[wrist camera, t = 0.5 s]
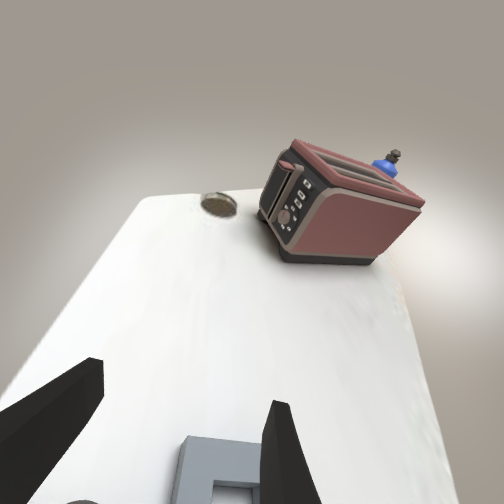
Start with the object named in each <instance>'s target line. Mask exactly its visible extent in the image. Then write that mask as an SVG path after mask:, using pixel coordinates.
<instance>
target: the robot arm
mask: <svg viewBox="0 0 504 504" xmlns="http://www.w3.org/2000/svg"><path fill="white" fill-rule="evenodd" d="M103 397H104V370H103V360H99V359H94V358H90V357H89V358H87V359H86V360H84V361H82V362H81V363H79V364H77V365H76V366H74V367H73V368H71V369H70V370H68V371H66V372H65V373H63V374H62V375H60V376H58V377H57V378H55V379H54V380H52V381H51V382H49V383H47V384H46V385H44V386H43V387H41V388H39V389H38V390H36V391H34V392H33V393H31V394H29V395H28V396H26V397H25V398H23V399H21V400H20V401H18V402H16V403H15V404H13V405H11V406H10V407H8V408H6V409H4V410H3V411H1V412H0V504H27V503H28V501H29V500H30V499H31V497H32V496H33V494H34V493H35V492H36V490H37V489H38V488H39V486H40V485H41V484H42V483H43V481H44V480H45V479H46V477H47V476H48V475H49V473H50V472H51V471H52V469H53V468H54V467H55V465H56V464H57V463H58V462H59V460H60V459H61V458H62V456H63V455H64V454H65V452H66V451H67V450H68V448H69V447H70V446H71V444H72V443H73V442H74V440H75V439H76V438H77V436H78V435H79V434H80V432H81V431H82V430H83V428H84V427H85V426H86V424H87V423H88V421H89V420H90V418H91V417H92V415H93V413H94V412H95V410H96V409H97V407H98V405H99V404H100V402H101V400H102V399H103ZM260 504H322V503H321V501H320V498H319V495H318V493H317V490H316V488H315V485H314V482H313V480H312V477H311V474H310V471H309V468H308V466H307V463H306V460H305V457H304V454H303V451H302V448H301V445H300V442H299V439H298V435H297V432H296V429H295V425H294V422H293V418H292V414H291V410H290V406H289V404H288V403H284V402H280V401H276V400H273V402H272V405H271V408H270V411H269V414H268V417H267V421H266V424H265V427H264V430H263V433H262V444H261V456H260Z"/></svg>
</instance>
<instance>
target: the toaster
mask: <svg viewBox="0 0 504 504" xmlns="http://www.w3.org/2000/svg"><path fill="white" fill-rule="evenodd" d="M424 203H425V200H423V199H422V198H420V197H419V196H418V195H416V194H415V193H413V192H412V191H410V190H409V189H407V188H406V187H404V186H403V185H401V184H400V183H399V182H397V181H396V180H394V179H393V178H391V177H390V176H388V175H387V174H385V173H384V172H382V171H381V170H380V169H378V168H376V167H374V166H371V165H368V164H365V163H363V162H360V161H356V160H354V159H351V158H348V157H345V156H343V155H340V154H337V153H334V152H332V151H329V150H326V149H323V148H320V147H317V146H314V145H312V144H309V143H306V142H303V141H301V140H298V139H294V141H293V142H292V144H291V146H290V148H288V149H285V150H283V151H282V152H281V153H280V155H279V156H278V158H277V160H276V163H275V165H274V167H273V169H272V172H271V174H270V176H269V179H268V181H267V183H266V185H265V187H264V190H263V192H262V194H261V197H260V202H259V208H260V209H259V211H258V214H257V215H258V217H259V219H260V220H261V221H267V222H268V224H269V225H270V227H271V229H272V230H273V232H274V234H275V235H276V237H277V239H278V240H279V242H280V246H279V248H280V255H281V257H282V259H283V260H284V261H285V262H297V263H326V264H356V265H370V264H371V263H372V262H373V261H374V260H375V259H376V258H377V257H378V255H380V254H382V253H383V252H384V251H385V250H386V249H387V248H388V247H389V246H390V245H391V244H392V243H393V242H394V241H395V240H396V239H397V238H398V237H399V235H401V234H402V233H403V231H404V230H405V229H406V228H407V227H408V226H409V225H410V224H411V223H412V222H413V221H414V220H415V219H416V218H417V217H418V216H419V215H420V214H421V210H420V208H421V207H422V206H423V205H424Z"/></svg>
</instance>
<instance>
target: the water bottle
mask: <svg viewBox="0 0 504 504" xmlns="http://www.w3.org/2000/svg"><path fill="white" fill-rule="evenodd" d="M400 156H401V154H400V151H398V150H396V149H395V150H392V151H391V155H390V154H387V156H386V159H384V160H375V161H374V162H373V163H372V165H371V166H374V167H376V168H378V169H380V170H381V171H382V172H384V173H385V174H387V175H388V176H390V177H391V178H394V177H395V176H396V175H397V173H398V172H397V170H396V169H395V166H394V164H395V163H396V162H397V161H398V160H399V159H398V158H397V157H400Z"/></svg>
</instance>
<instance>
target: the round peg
mask: <svg viewBox="0 0 504 504" xmlns="http://www.w3.org/2000/svg"><path fill="white" fill-rule="evenodd" d="M67 504H97V503H95V502H93V501H87V500H79V501H74V502H70V503H67Z"/></svg>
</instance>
